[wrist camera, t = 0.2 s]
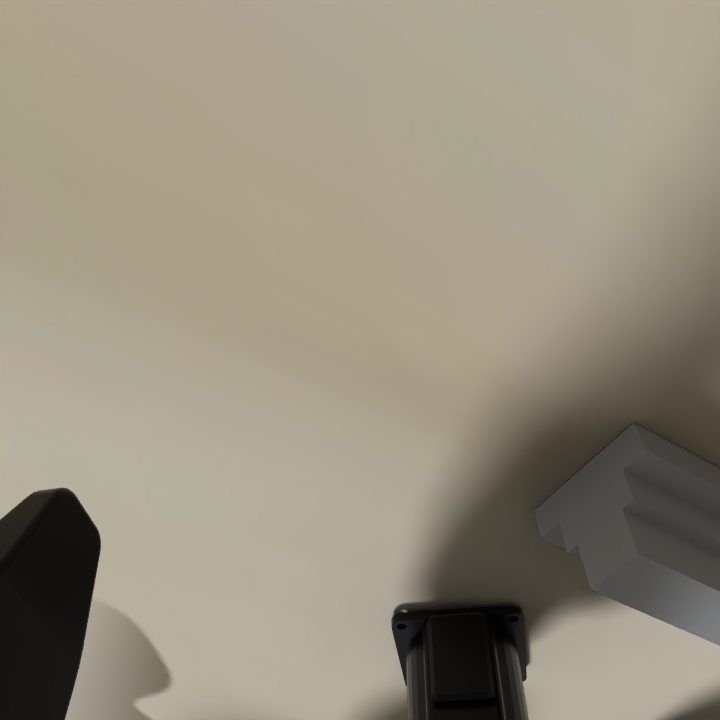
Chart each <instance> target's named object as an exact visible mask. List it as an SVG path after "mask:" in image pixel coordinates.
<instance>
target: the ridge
mask: <svg viewBox="0 0 720 720" xmlns="http://www.w3.org/2000/svg"><path fill="white" fill-rule="evenodd" d="M534 513H535V518H536V522H537V526H538V531H539V535H540V539H542V540H544V541H547V542H549V543H551V544H553V545H556V546H558V547H560V548H562V549H565V550H567V553H569V554H571V555H573V556H575V557H578V558H580V559H582V562H583V565H584V569H585V573H586V576H587V580H588V584H589V587H590V590H592V591H594V592H597V593H599V594H601V595H604V596H606V597H608V598H610V599H613V600H615V601H617V602H620V603H622V604H624V605H627V606H629V607H631V608H634V609H636V610H638V611H641V612H643V613H645V614H648V615H650V616H652V617H655V618H657V619H659V620H662V621H664V622H666V623H669V624H671V625H673V626H676V627H678V628H680V629H683V630H685V631H687V632H689V633H692V634H694V635H696V636H699V637H701V638H703V639H706V640H708V641H710V642H713V643H715V644H717V645H720V468H718V467H716V466H715V465H713V464H711V463H709V462H707V461H705V460H703V459H701V458H699V457H698V456H696V455H694V454H692V453H690V452H688V451H686V450H684V449H683V448H681V447H679V446H677V445H675V444H673V443H671V442H669V441H668V440H666V439H664V438H662V437H660V436H658V435H656V434H654V433H653V432H651V431H649V430H647V429H645V428H643V427H641V426H639V425H638V424H636V423H633V424H632V425H630V426H629V427H628V428H627V429H626V430H625V431H624V432H622V433H621V434H620V435H619V436H618V437H617V438H616V439H615V440H613V441H612V442H611V443H610V444H609V445H608V446H607V447H605V448H604V449H603V450H602V451H601V452H600V453H599V454H598V455H596V456H595V457H594V458H593V459H592V460H591V461H590V462H588V463H587V464H586V465H585V466H584V467H583V468H582V469H581V470H579V471H578V472H577V473H576V474H575V475H574V476H573V477H571V478H570V479H569V480H568V481H567V482H566V483H565V484H564V485H562V486H561V487H560V488H559V489H558V490H557V491H556V492H554V493H553V494H552V495H551V496H550V497H549V498H548V499H547V500H545V501H544V502H543V503H542V504H541V505H540V506H539V507H538V508H536V509H535V510H534Z"/></svg>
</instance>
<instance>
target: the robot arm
mask: <svg viewBox="0 0 720 720" xmlns="http://www.w3.org/2000/svg"><path fill="white" fill-rule="evenodd" d="M100 549H101V540H100V535H99V532H98V529H97V527H96V526H95V524H94V523H93V521H92V520H91V518H90V517H89V515H88V514H87V512H86V511H85V509H84V507H83V506H82V504H81V503H80V501H79V500H78V498H77V497H76V495H75V494H74V493H73V492H72V491H70V490H69V489H67V488H56V489H48V490H41V491H37V492H34V493H32V494H30V495H29V496H28V497H27V498H25V499H24V500H23V501H22V502H21V503H20V504H18V505H17V506H16V507H15V508H14V509H12V510H11V511H10V512H9V513H8V514H6V515H5V516H4V517H3V518H2V519H1V520H0V720H65V717H66V713H67V710H68V706H69V702H70V699H71V695H72V692H73V689H74V685H75V680H76V677H77V673H78V669H79V665H80V660H81V655H82V650H83V646H84V640H85V634H86V628H87V623H88V618H89V612H90V606H91V601H92V595H93V589H94V584H95V578H96V573H97V567H98V561H99V556H100ZM392 631H393V635H394V639H395V643H396V647H397V651H398V656H399V660H400V664H401V668H402V672H403V676H404V680H405V684H406V686H407V709H408V720H529V718H528V712H527V706H526V700H525V694H524V687H523V681H525V680H526V678H527V677H526V654H525V631H524V616H523V611H522V609H521V608H520V607H517V606H504V607H490V608H475V609H461V610H446V611H431V612H417V613H402V614H396V615H394V616H393V617H392Z"/></svg>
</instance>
